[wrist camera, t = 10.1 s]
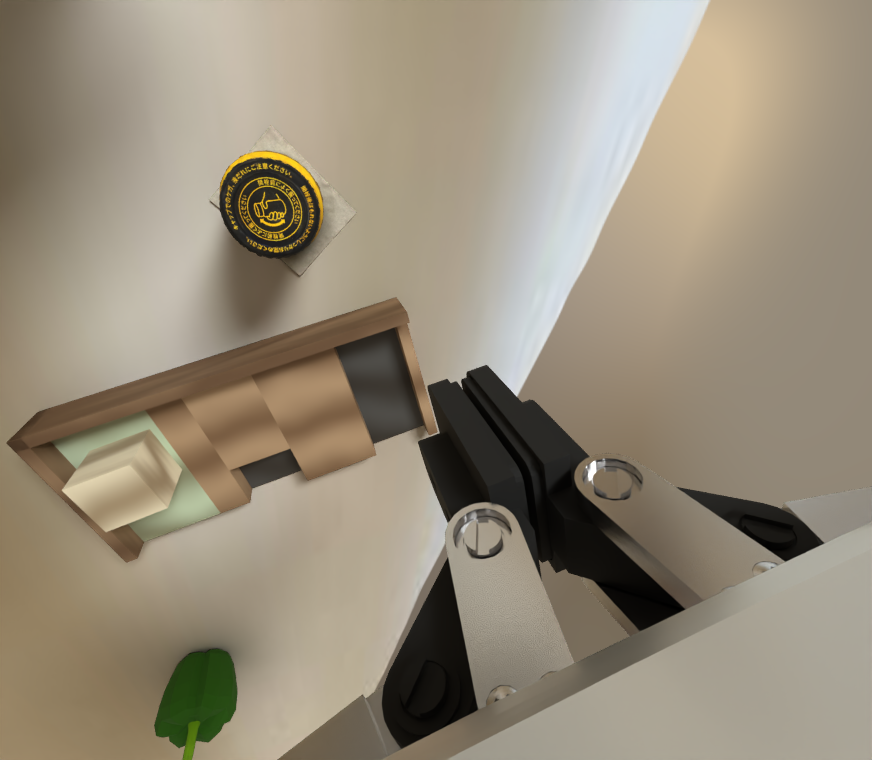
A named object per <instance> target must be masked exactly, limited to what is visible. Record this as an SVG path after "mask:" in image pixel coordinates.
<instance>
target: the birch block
mask: <svg viewBox="0 0 872 760" xmlns="http://www.w3.org/2000/svg"><path fill="white" fill-rule="evenodd" d="M181 471H182V469H181V468H180V466H179V465H178V464H177V463H176V461H175V460H174V459H173V458H172V456H171V455H170V454H169V453H168V451H167V450H166V449H165V448H164V446H163V445H162V444H161V443H160V441H159V440H158V439H157V438H156V436H155V435H154V434H153V433H152V431H151V430H150V429H148V430H145V431H142V432H140V433H137V434H134V435H131V436H129V437H126V438H123V439H120V440H118V441H115V442H112V443H110V444H107V445H104V446H101V447H99V448H96V449H93V450H90V451H89V453H88V454H87V456H86V457H85V458H84V460H83V461H82V463H81V464H80V465H79V467H78V468H77V470H76V471H75V472H74V474H73V475H72V477H71V478H70V479H69V481H68V482H67V484H66V485H65V486H64V488H63V489H62V491H63V492H64V493H65V494H66V495H67V496H68V497H69V498H70V499H71V500H72V501H73V502H74V503H75V504H76V505H78V506H79V507H80V508H81V509H82V510H83V511H84V512H85V513H86V514H87V515H88V516H89V517H90V518H91V519H92V520H93V521H94V522H95V523H96V524H98V525H99V526H100V527H101V528H102V529H103V530H104V531H105V532H108V531H111V530H113V529H116V528H118V527H121V526H123V525H126V524H128V523H131V522H134V521H136V520H139V519H141V518H144V517H146V516H149V515H151V514H154V513H157V512H159V511H162V510H164V509H167V508H168V506H169V504H170V501H171V498H172V496H173V493H174V490H175V488H176V485H177V482H178V480H179V477H180V474H181Z"/></svg>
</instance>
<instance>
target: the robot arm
mask: <svg viewBox="0 0 872 760" xmlns="http://www.w3.org/2000/svg"><path fill="white" fill-rule="evenodd" d="M461 383H462V388H463V390H462V388H461V387H460V385H459V384H458V383H457V382H453V383H450V382H449V380H448V379H445V380H442V381H440V382H437V383H434V384H431V385H428V392H429V395H430V399H431V403H432V406H433V410H434V413H435V417H436V421H437V424H438V428H439V432H440V433H439V434H437V435H434V436H431V437H428V438H426V439H423V440H420V441H418V444H419V447H420V451H421V454H422V457H423V460H424V463H425V466H426V469H427V472H428V475H429V478H430V480H431V483H432V486H433V488H434V491H435V493H436V496H437V498H438V501H439V503H440V505H441V508H442V510H443V513H444V515H445V517H446V520H447V522H448V526H447V529H446V531H445V543H446V548H447V553H448V558H447V560H446V562H445V564H444V566H443V568H442V569H441V572H440V573H439V576H438V577H437V579H436V581H435V583H434V585H433V587H432V589H431V591H430V593H429V595H428V597H427V599H426V601H425V603H424V604H423V606H422V608H421V610H420V613H419V614H418V616H417V618H416V620H415V622H414V624H413V626H412V628H411V630H410V632H409V634H408V636H407V638H406V640H405V642H404V643H403V645H402V647H401V649H400V651H399V653H398V655H397V657H396V659H395V661H394V663H393V665H392V667H391V669H390V671H389V673H388V676H387V678H386V681H385V684H384V685H383V686H382V687H380V688H379V689H378V690H376V691H375V692H374V693H372V694H371V695H370V696H369V697H367V698H366V699H365V697H364V696H363V694H362V695H361V696H360V697H358V698H357V699H356V700H355V701H353V702H352V703H351V704H349V705H348V706H347V707H345V708H344V709H343V710H341V711H340V712H339V713H338V714H336V715H335V716H334V717H332V718H331V719H330V720H328V721H327V722H326V723H325V724H323V725H322V726H321V727H319V728H318V729H317V730H315V731H314V732H313V733H311V734H310V735H309V736H308V737H306V738H305V739H304V740H302V741H301V742H300V743H298V744H297V745H296V746H294V747H293V748H292V749H291V750H289V751H288V752H287V753H285V754H284V755H283V756H281V757H280V758H279V759H278V760H872V486H871V487H866V488H860V489H855V490H849V491H844V492H839V493H833V494H827V495H822V496H817V497H811V498H806V499H800V500H796V501H790V502H784V504H783V507H782V508H781V509H780V508H778V507H774V506H771V505H767V504H764V503H759V502H754V501H748V500H743V499H738V498H732V497H727V496H722V495H716V494H711V493H706V492H700V491H695V490H690V489H684V488H679V487H675V486H673V485H672V484H670V483H669V482H667V481H666V480H664V479H663V478H661V477H660V476H659V475H657V474H656V473H654V472H653V471H651V470H650V469H648V468H647V467H645V466H644V465H642V464H641V463H639V462H638V461H636V460H634V459H631V458H630V457H627V456H623V455H620V454H611V453H604V454H597V455H594V456H591V457H589V456H588V455H587V453H585V451H584V450H582V448H581V447H580V446H579V445H578V444H577V443H575V442H574V440H572V438H571V437H570V436H569V435H568V434H567V433H566V432H565V431H564V430H563V429H562V428H561V427H560V426H559V425H558V424H557V423H556V422H555V421H554V420H553V419H552V418H551V417H550V416H549V415H548V414H547V413H546V412H545V411H544V410H543V409H542V408H541V407H540V406H539V405H538V404H537V403H536V402H535V401H533V400H528V401H525V402H521V401H520V400H519V399H518V398H517V397H516V396H515V395H514V393H513V392H512V391H511V390H510V389H509V388H508V387H507V386H506V385H505V384H504V383H503V382H502V381H501V380H500V378H499V377H498V376H497V375H496V374H495V373H494V372H493V371H492V370H491V369H490V368H489V367H488V366H487V365H485V366H482V367H479V368H476V369H474V370H471V371H468V372H467V378H464V379H462V380H461ZM539 560H540V561H541V562H542V563H543V562H545V561H547V560H548V561H549V562H550V564H551V566H552V567H553V569H554V570H555V572H556V573H557V572H560V571H562V570H564V569H566V570H567V571H568V573H571V574H574V575H578V576H580V577H582V581H583V583H584V584H585V585H586V587H587V588H588V590H589V591H590V592H591V593H592V594H593V595H594V597H595V598H596V599H597V600H598V601H599V602H600V603H601V604H602V605H603V607H604V608H605V609H606V610H607V611H608V612H609V613H610V615H611V616H612V617H613V618H614V619H615V620H616V621H617V622H618V623H619V624H620V626H621V627H622V628H623V629H624V630H625V631H626V632H627V634H628V635H629V636H630V637H628V638H626V639H624V640H622V641H620V642H617V643H615V644H613V645H611V646H609V647H607V648H605V649H603V650H601V651H599V652H597V653H595V654H593V655H591V656H588V657H586V658H584V659H582V660H580V661H578V662H576V663H574V661H573V659H572V656H571V654H570V651H569V649H568V646H567V644H566V641H565V639H564V636H563V634H562V631H561V629H560V626H559V624H558V621H557V619H556V616H555V613H554V611H553V609H552V606H551V603H550V601H549V599H548V596H547V593H546V591H545V588H544V586H543V583H542V580H541V573H540V565H539Z"/></svg>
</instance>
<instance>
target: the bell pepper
mask: <svg viewBox="0 0 872 760" xmlns="http://www.w3.org/2000/svg"><path fill="white" fill-rule="evenodd" d="M236 702H237V683H236V675H235V669H234V664H233V661H232V659H231V657H230V655H229V654H228V653H227V652H225V651H223V650H220V649H212V650H209V651H208V652H206V653H202V652H197V653H190V654H189V655H188V656H186V657H185V658H184V659H183V660H182V661H181V662H180V663H179V664H178V665H177V667H176V669H175V671H174V673H173V675H172V677H171V679H170V681H169V683H168V685H167V687H166V689H165V692H164V695H163V698H162V700H161V703H160V706H159V710H158V714H157V717H156V721H155V725H154V726H155V732H156V736H158V737H168V736H169V740H170V742H172V743H173V744H174V745H176V746H177V747H178V748H180V747H183V746H185V750H184V755H183V760H192V757H193V752H194V748H195V743H196V741H202V742H210V741H211V740H212V739H213V738H214V737H215V736H216V735H217V734H218V733H219V732H220V731H221V729H222V727H223V725H224V723H227V722H229V721H230V720H231V718H232V716H233V714H234V712H235V710H236Z"/></svg>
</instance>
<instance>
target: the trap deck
mask: <svg viewBox="0 0 872 760" xmlns="http://www.w3.org/2000/svg"><path fill="white" fill-rule="evenodd" d="M407 323H410V322H409V318H408V314H407V312H406V310H405V309H404V307H403V306H402V305H401V303H400V302H399V301H398V299H397V298H393V299H389V300H386V301H383V302H380V303H377V304H374V305H371V306H368V307H364V308H361V309H358V310H355V311H352V312H349V313H346V314H343V315H339V316H336V317H333V318H330V319H327V320H324V321H321V322H318V323H314V324H311V325H308V326H305V327H302V328H299V329H296V330H293V331H289V332H286V333H283V334H280V335H277V336H274V337H271V338H268V339H264V340H261V341H258V342H255V343H252V344H249V345H246V346H243V347H239V348H236V349H233V350H230V351H227V352H224V353H221V354H218V355H214V356H211V357H208V358H205V359H202V360H199V361H196V362H193V363H189V364H186V365H183V366H180V367H177V368H174V369H171V370H168V371H164V372H161V373H158V374H155V375H152V376H149V377H146V378H143V379H139V380H136V381H133V382H130V383H127V384H124V385H121V386H118V387H114V388H111V389H108V390H105V391H102V392H99V393H96V394H93V395H90V396H86V397H83V398H80V399H77V400H74V401H71V402H68V403H65V404H61V405H58V406H55V407H52V408H49V409H46V410H43V411H40V412H37V413H36V414H35V415H34V416H33V417H32V418H31V419H30V420H29V421H28V422H27V423H26V424H25V425H24V426H23V427H22V428H21V429H20V430H19V431H18V432H17V433H16V434H15V435H14V436H13V437H12V438H11V439H10V440H9V441H7V442H6V443H7V444H8V445H9V446H10V447H11V448H12V449H13V450H14V451H15V452H16V453H17V454H18V455H19V456H20V457H21V458H22V459H23V460H24V461H25V462H26V463H27V464H28V465H29V466H30V467H31V468H32V469H33V470H34V471H35V472H36V473H37V474H38V475H39V476H40V477H41V478H42V479H43V480H44V481H45V482H46V483H47V484H48V485H49V486H50V487H51V488H52V489H53V490H54V491H55V492H56V493H57V494H58V495H59V496H60V497H61V498H62V499H63V500H64V501H65V502H66V503H67V504H68V505H69V506H70V507H71V508H72V509H73V510H74V511H75V512H76V513H77V514H78V515H79V516H80V517H81V518H82V519H83V520H84V521H85V522H86V523H87V524H88V525H89V526H90V527H91V528H92V529H93V530H94V531H95V532H96V533H97V534H98V535H99V536H100V537H101V538H102V539H103V540H104V541H105V542H106V543H107V544H108V545H109V546H110V547H111V548H112V549H113V550H114V551H115V552H116V553H117V554H118V555H119V556H120V557H121V558H122V559H123V560H124V561H125V562H126V563H127V562H129V561H132V560H135V559H137V558H138V556H139V553H140V551H141V548H142V546H143V543H144V542H145V541H148V540H151V539H153V538H156V537H159V536H161V535H164V534H167V533H169V532H172V531H175V530H177V529H180V528H183V527H185V526H188V525H191V524H193V523H196V522H199V521H202V520H204V519H207V518H210V517H212V516H215V515H218V514H220V513H223V512H225V511H228V510H231V509H233V508H236V507H239V506H241V505H244V504H247V503H249V502H250V500H251V493H252V488H254V487H257V486H260V485H262V484H265V483H268V482H271V481H273V480H276V479H279V478H281V477H284V476H287V475H290V474H292V473H295V472H298V471H300V470H302V471H303V473H304V475H305V477H306V479H307V480H311V479H314V478H316V477H319V476H322V475H324V474H327V473H330V472H332V471H335V470H338V469H340V468H343V467H346V466H348V465H351V464H354V463H356V462H359V461H362V460H364V459H367V458H370V457H372V456H375V455H376V452H375V448H374V443H376V442H379V441H382V440H384V439H387V438H390V437H393V436H395V435H398V434H401V433H403V432H406V431H409V430H411V429H414V428H417V427H420V426H422V425H424V426H425V428H426V430H427V432H428V434H429V435H431V434H434V433H437V428H436V425H435V421H434V417H433V414H432V410H431V407H430V403H429V400H428V396H427V393H426V389H425V386H424V382H423V378H422V375H421V371H420V368H419V364H418V361H417V357H416V354H415V350H414V347H413V343H412V339H411V336H410V332H409V329H408V325H407ZM148 429H150V430H151V431H152V433H153V434H154V435H155V436H156V438H157V439H158V440H159V441H160V443H161V444H162V445H163V446H164V448H165V449H166V450H167V451H168V453H169V454H170V455H171V456H172V458H173V459H174V460H175V461H176V463H177V464H178V465H179V466H180V468H181V469H182V471H181V474H180V477H179V480H178V482H177V485H176V488H175V490H174V493H173V496H172V498H171V501H170V504H169V506H168V508H167V509H164V510H162V511H159V512H157V513H154V514H151V515H149V516H146V517H144V518H141V519H139V520H136V521H134V522H131V523H128V524H126V525H123V526H121V527H118V528H116V529H113V530H111V531H108V532H105V531H104V530H103V529H102V528H101V527H100V526H99V525H98V524H96V523H95V522H94V521H93V520H92V519H91V518H90V517H89V516H88V515H87V514H86V513H85V512H84V511H83V510H82V509H81V508H80V507H79V506H78V505H76V504H75V503H74V502H73V501H72V500H71V499H70V498H69V497H68V496H67V495H66V494H65V493H64V492H63V491H62V489H63V488H64V486H65V485H66V484H67V482H68V481H69V479H70V478H71V477H72V475H73V474H74V472H75V471H76V470H77V468H78V467H79V465H80V464H81V463H82V461H83V460H84V458H85V457H86V456H87V454H88V453H89V451H90V450H93V449H96V448H99V447H101V446H104V445H107V444H110V443H112V442H115V441H118V440H120V439H123V438H126V437H129V436H131V435H134V434H137V433H140V432H142V431H145V430H148Z"/></svg>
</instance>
